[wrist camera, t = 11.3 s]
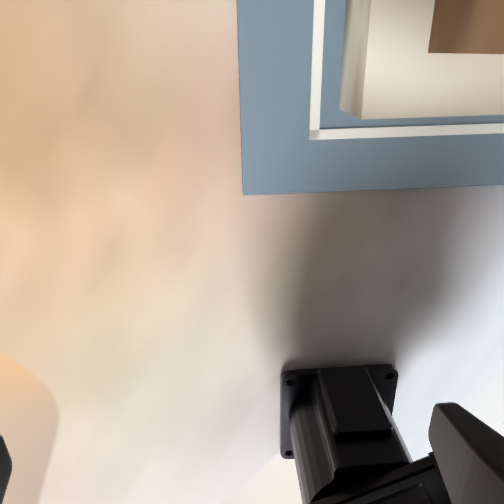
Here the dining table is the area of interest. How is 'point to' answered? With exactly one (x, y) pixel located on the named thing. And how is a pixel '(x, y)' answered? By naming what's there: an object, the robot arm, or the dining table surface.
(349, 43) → the plinth
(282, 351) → the dining table surface
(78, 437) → the dining table surface
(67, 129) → the dining table surface
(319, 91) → the board
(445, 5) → the walnut cube
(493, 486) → the robot arm
